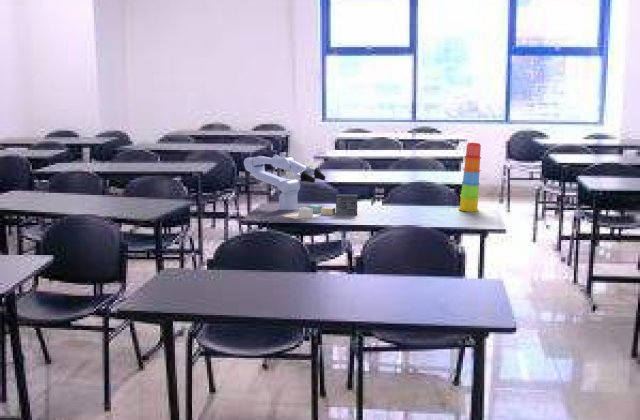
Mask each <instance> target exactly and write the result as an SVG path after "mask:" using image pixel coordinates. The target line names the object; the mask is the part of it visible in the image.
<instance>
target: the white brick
mask: <svg viewBox="0 0 640 420" xmlns="http://www.w3.org/2000/svg"><path fill="white" fill-rule="evenodd" d="M297 210H298V211H297V212H298V215H299V216H300V217H305V218H309V217H313V214H314V212H313V209H312V208H308V207H306V206H305V207H304V206H303V207H299V208H298V207H297Z"/></svg>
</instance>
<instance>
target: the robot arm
mask: <svg viewBox="0 0 640 420" xmlns="http://www.w3.org/2000/svg"><path fill="white" fill-rule="evenodd" d="M266 164H267V165H271V167H273V168H279V169H280V168H281V169H282V170H288V171H290V172H292V173H294V174H295V175H296V176H295V177H296V178H297V179H295V178H294V179H291V178H284V177H281V176H278V175H276V174H273V173H270V172H268V171H266V169H265V168H266V167H265V165H266ZM243 166H244V169H245V171H247V172H249V173H250V174H251V175H252V176H253V177H254V178H255V179H256V180H259V181H262V182H264V183H266V184H269V185H272V186H274V187H277V189H278V190H279V191H281V193H280V194H279V196H278V208H277V210H279V211H294V210H298V193H299V191H300V189H301V182H303V183H304V182H306V183H312V184H315V183H316V180H317V179H318V180H321V181H325V180H326V175H324V174H323V173H322V171H321V169H320V168H319V167H315V168H313V167H311V166H310V165H304V164H302V163H301V162H298V161H296V159H295V158H294V157H292V156H289V157H287V156H284V155H283V156H279V155H278V154H275V155H274V156H272V157H268V156H263V155H258V156H253V157H246V158H244V160H243ZM313 176H314V177H313ZM298 179H300V180H298Z"/></svg>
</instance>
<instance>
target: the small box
mask: <svg viewBox="0 0 640 420" xmlns="http://www.w3.org/2000/svg"><path fill="white" fill-rule="evenodd" d="M335 216H353V217H354V216H356V217H357V216H358V194H345V193H343V194H336V195H335Z"/></svg>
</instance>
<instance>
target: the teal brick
mask: <svg viewBox="0 0 640 420" xmlns="http://www.w3.org/2000/svg"><path fill="white" fill-rule="evenodd" d="M307 208H312V209H313V214H319V213H321V208H323V205H320V204H310V205H308V207H307Z"/></svg>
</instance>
